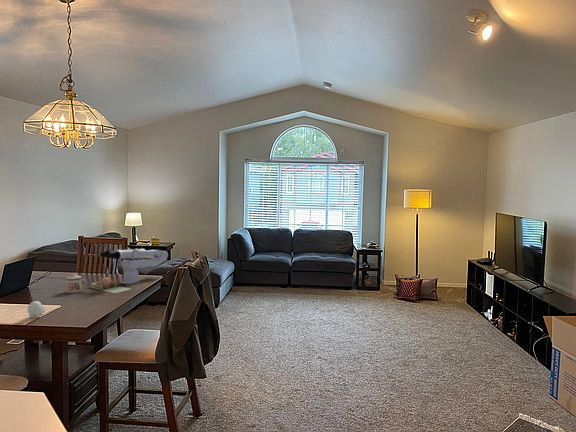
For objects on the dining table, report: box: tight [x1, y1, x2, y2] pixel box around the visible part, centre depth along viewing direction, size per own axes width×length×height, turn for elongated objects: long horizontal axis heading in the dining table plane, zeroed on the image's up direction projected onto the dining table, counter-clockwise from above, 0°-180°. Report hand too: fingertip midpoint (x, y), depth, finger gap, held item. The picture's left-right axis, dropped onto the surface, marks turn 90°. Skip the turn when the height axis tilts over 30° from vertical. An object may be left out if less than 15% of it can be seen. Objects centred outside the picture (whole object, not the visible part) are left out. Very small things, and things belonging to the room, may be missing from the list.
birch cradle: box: [89, 281, 118, 291], centre depth 302 cm, size 12×12×2 cm
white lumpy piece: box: [27, 300, 46, 319], centre depth 239 cm, size 6×8×12 cm
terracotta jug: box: [99, 277, 111, 289], centre depth 301 cm, size 7×5×6 cm
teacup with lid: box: [65, 272, 88, 294], centre depth 290 cm, size 12×9×12 cm
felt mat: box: [101, 285, 132, 294], centre depth 294 cm, size 13×13×1 cm
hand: (104, 255), depth 297 cm, fingers open, 7 cm apart
